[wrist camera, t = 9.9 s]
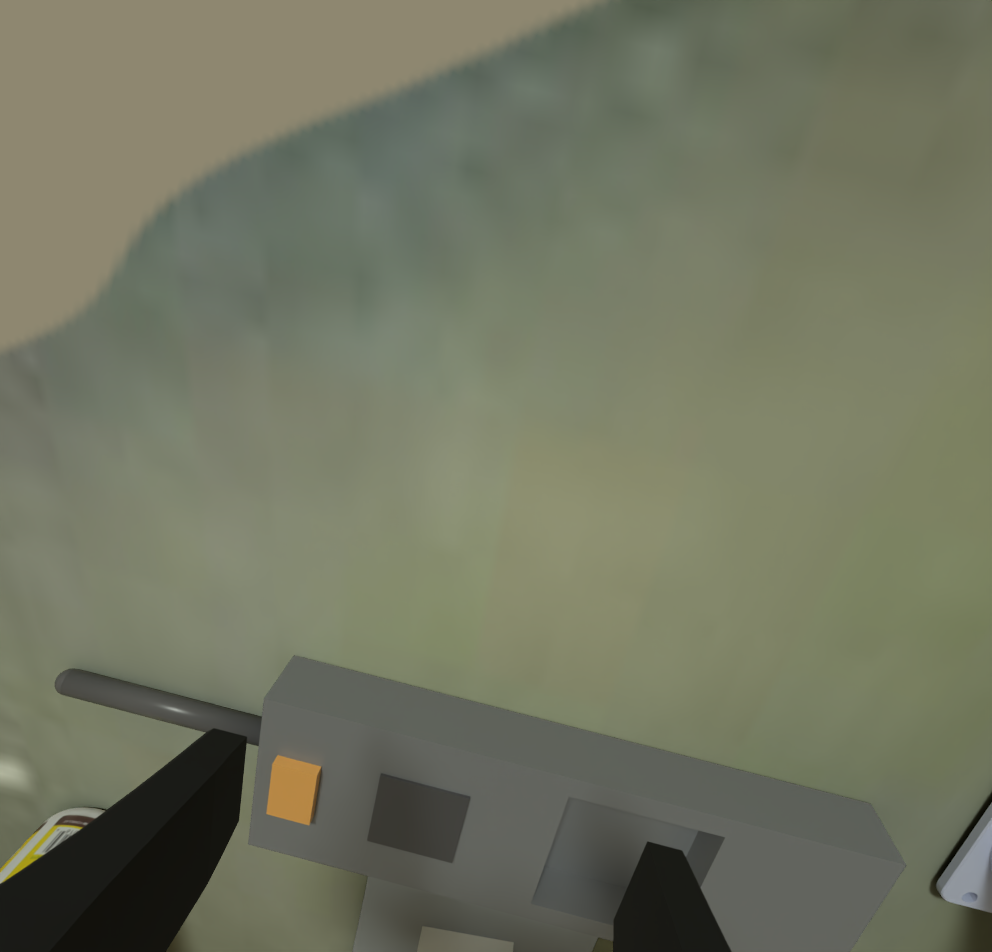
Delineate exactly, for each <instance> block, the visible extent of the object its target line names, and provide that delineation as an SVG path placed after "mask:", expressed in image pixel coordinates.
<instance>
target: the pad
mask: <svg viewBox="0 0 992 952" xmlns="http://www.w3.org/2000/svg"><path fill="white" fill-rule="evenodd" d="M422 926H425V927H431V928H437V929H442V930H448V931H453V932H459V933H464V934H470V935H476V936H481V937H487V938H492V939H498V940H503V941H509V942H514V944H513V952H592V951H593V948H594V946H595V944H596V941H597V939H598V937H595V936H591V935H587V934H584V933H580V932H576V931H572V930H569V929H565V928H561V927H557V926H554V925H550V924H546V923H542V922H538V921H535V920H531V919H527V918H523V917H520V916H516V915H512V914H508V913H505V912H501V911H497V910H493V909H490V908H486V907H482V906H478V905H475V904H471V903H467V902H463V901H460V900H456V899H452V898H448V897H444V896H441V895H437V894H433V893H429V892H426V891H422V890H418V889H414V888H411V887H407V886H403V885H399V884H396V883H392V882H388V881H384V880H381V879H377V878H373V877H369V876H368V880H367V885H366V889H365V894H364V899H363V904H362V908H361V913H360V918H359V923H358V927H357V932H356V937H355V942H354V946H353V951H352V952H417V949H418V944H419V940H420V935H421V930H422Z"/></svg>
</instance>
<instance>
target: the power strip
mask: <svg viewBox="0 0 992 952" xmlns="http://www.w3.org/2000/svg"><path fill="white" fill-rule="evenodd" d="M55 689H56V690H57V692H58V693H60V694H62V695H65V696H69V697H73V698H77V699H80V700H84V701H88V702H92V703H96V704H99V705H103V706H107V707H111V708H115V709H119V710H122V711H126V712H130V713H134V714H138V715H141V716H145V717H149V718H153V719H157V720H161V721H164V722H168V723H172V724H176V725H180V726H184V727H187V728H191V729H195V730H199V731H203V732H208V731H209V730H211V729H213V728H216V729H220V730H223V731H227V732H231V733H235V734H239V735H243V736H246V737H247V743H249V744H252V745H256V746H259V749H258V758H257V767H256V777H255V786H254V795H253V804H252V814H251V823H250V832H249V841H248V844H249V845H253V846H257V847H260V848H264V849H268V850H272V851H275V852H279V853H283V854H287V855H290V856H294V857H298V858H302V859H305V860H309V861H313V862H317V863H320V864H324V865H328V866H332V867H335V868H339V869H343V870H347V871H350V872H354V873H358V874H362V875H366V876H369V877H373V878H377V879H381V880H384V881H388V882H392V883H396V884H399V885H403V886H407V887H411V888H414V889H418V890H422V891H426V892H429V893H433V894H437V895H441V896H444V897H448V898H452V899H456V900H460V901H463V902H467V903H471V904H475V905H478V906H482V907H486V908H490V909H493V910H497V911H501V912H505V913H508V914H512V915H516V916H520V917H523V918H527V919H531V920H535V921H538V922H542V923H546V924H550V925H554V926H557V927H561V928H565V929H569V930H572V931H576V932H580V933H584V934H587V935H591V936H595V937H599V938H602V939H606V940H610V941H613V920H614V918H615V915H616V913H617V911H618V908H619V906H620V904H621V901H622V899H623V897H624V894H625V892H626V890H627V887H628V885H629V883H630V880H631V878H632V876H633V873H634V871H635V869H636V866H637V864H638V862H639V860H640V857H641V855H642V853H643V850H644V848H645V846H646V843H647V841H648V842H652V843H656V844H660V845H663V846H667V847H671V848H675V849H679V850H682V851H683V853H684V855H685V856H686V858H687V860H688V862H689V865H690V867H691V869H692V871H693V873H694V875H695V877H696V879H697V881H698V884H699V886H700V888H701V890H702V892H703V894H704V896H705V898H706V900H707V902H708V905H709V907H710V909H711V911H712V913H713V915H714V917H715V919H716V921H717V923H718V925H719V927H720V929H721V931H722V933H723V935H724V937H725V939H726V941H727V943H728V945H729V947H730V949H731V951H732V952H850V951H851V949H852V948H853V946H854V945H855V943H856V942H857V940H858V939H859V937H860V936H861V934H862V933H863V931H864V930H865V928H866V926H867V925H868V923H869V922H870V920H871V919H872V917H873V916H874V914H875V913H876V911H877V910H878V908H879V907H880V905H881V903H882V902H883V900H884V899H885V897H886V896H887V894H888V893H889V891H890V890H891V888H892V887H893V885H894V884H895V882H896V880H897V879H898V877H899V876H900V874H901V873H902V871H903V870H904V868H905V867H906V864H905V862H904V860H903V858H902V857H901V855H900V853H899V851H898V850H897V848H896V846H895V844H894V843H893V841H892V839H891V838H890V836H889V834H888V832H887V831H886V829H885V827H884V825H883V824H882V822H881V820H880V818H879V817H878V815H877V813H876V812H875V810H874V808H873V806H872V805H871V804H870V803H866V802H862V801H858V800H854V799H850V798H846V797H843V796H839V795H835V794H831V793H827V792H823V791H819V790H815V789H811V788H808V787H804V786H800V785H796V784H792V783H788V782H784V781H780V780H776V779H773V778H769V777H765V776H761V775H757V774H753V773H749V772H745V771H741V770H738V769H734V768H730V767H726V766H722V765H718V764H714V763H710V762H707V761H703V760H699V759H695V758H691V757H687V756H683V755H679V754H675V753H672V752H668V751H664V750H660V749H656V748H652V747H648V746H644V745H640V744H637V743H633V742H629V741H625V740H621V739H617V738H613V737H609V736H605V735H602V734H598V733H594V732H590V731H586V730H582V729H578V728H574V727H570V726H567V725H563V724H559V723H555V722H551V721H547V720H543V719H539V718H536V717H532V716H528V715H524V714H520V713H516V712H512V711H508V710H504V709H501V708H497V707H493V706H489V705H485V704H481V703H477V702H473V701H469V700H466V699H462V698H458V697H454V696H450V695H446V694H442V693H438V692H434V691H431V690H427V689H423V688H419V687H415V686H411V685H407V684H403V683H399V682H396V681H392V680H388V679H384V678H380V677H376V676H372V675H368V674H365V673H361V672H357V671H353V670H349V669H345V668H341V667H337V666H333V665H330V664H326V663H322V662H318V661H314V660H310V659H306V658H302V657H298V656H295V655H294V656H293V657H292V659H291V660H290V662H289V663H288V665H287V666H286V667H285V669H284V670H283V672H282V673H281V675H280V676H279V678H278V679H277V680H276V682H275V683H274V685H273V686H272V688H271V689H270V690H269V692H268V693H267V695H266V696H265V698H264V703H263V712H262V717H260V716H256V715H252V714H248V713H244V712H240V711H237V710H233V709H229V708H225V707H221V706H217V705H213V704H210V703H206V702H202V701H198V700H194V699H190V698H187V697H183V696H179V695H175V694H171V693H167V692H164V691H160V690H156V689H152V688H148V687H144V686H141V685H137V684H133V683H129V682H125V681H121V680H117V679H114V678H110V677H106V676H102V675H98V674H94V673H91V672H87V671H83V670H79V669H68V670H65V671H63V672H62V673H60V674H59V675H58V677H57V678H56V680H55Z"/></svg>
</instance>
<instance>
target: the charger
mask: <svg viewBox="0 0 992 952" xmlns="http://www.w3.org/2000/svg"><path fill="white" fill-rule="evenodd" d="M513 944H514V942H509V941H503V940H498V939H492V938H487V937H481V936H476V935H470V934H464V933H459V932H453V931H448V930H442V929H437V928H431V927H425V926H422V930H421V935H420V940H419V944H418V949H417V952H513Z"/></svg>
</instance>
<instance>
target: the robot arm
mask: <svg viewBox="0 0 992 952" xmlns="http://www.w3.org/2000/svg"><path fill="white" fill-rule="evenodd" d="M246 743H247V737H246V736H243V735H239V734H235V733H231V732H227V731H223V730H220V729H216V728H213V729H211V730H209V731H208V732H206V733H205V734H204V735H203V736H201V737H200V738H199V739H198V740H196V741H195V742H194V743H193V744H191V745H190V746H189V747H188V748H187V749H185V750H184V751H183V752H182V753H180V754H179V755H178V756H177V757H175V758H174V759H173V760H172V761H170V762H169V763H168V764H167V765H165V766H164V767H163V768H161V769H160V770H159V771H158V772H156V773H155V774H154V775H152V776H151V777H150V778H149V779H147V780H146V781H145V782H143V783H142V784H141V785H140V786H138V787H137V788H136V789H134V790H133V791H132V792H130V793H129V794H128V795H126V796H125V797H124V798H122V799H121V800H120V801H118V802H117V803H116V804H114V805H113V806H112V807H110V808H109V809H107V810H106V811H105V812H103V813H102V814H101V815H99V816H98V817H97V818H95V819H94V820H93V821H91V822H90V823H89V824H87V825H86V826H84V827H83V828H82V829H80V830H79V831H77V832H76V833H75V834H73V835H72V836H70V837H69V838H67V839H66V840H64V841H63V842H61V843H60V844H59V845H57V846H56V847H54V848H53V849H51V850H50V851H48V852H47V853H45V854H44V855H43V856H41V857H40V858H38V859H37V860H35V861H34V862H32V863H31V864H29V865H28V866H27V867H25V868H24V869H22V870H21V871H19V872H18V873H16V874H15V875H13V876H12V877H10V878H9V879H7V880H5V881H4V882H2V883H1V884H0V952H166V950H167V949H168V947H169V945H170V944H171V942H172V941H173V939H174V937H175V936H176V934H177V933H178V931H179V929H180V928H181V926H182V925H183V923H184V921H185V920H186V918H187V916H188V915H189V913H190V912H191V910H192V908H193V907H194V905H195V903H196V902H197V900H198V899H199V897H200V895H201V894H202V892H203V890H204V889H205V887H206V885H207V884H208V882H209V880H210V878H211V876H212V874H213V872H214V870H215V868H216V866H217V864H218V862H219V860H220V858H221V856H222V854H223V852H224V850H225V848H226V846H227V844H228V842H229V840H230V838H231V836H232V834H233V832H234V830H235V828H236V826H237V823H238V821H239V814H240V804H241V794H242V784H243V774H244V763H245V753H246ZM936 887H937V890H938V892H939V893H940V895H941V897H942V898H943V899H944V900H946V901H948V902H952V903H955V904H959V905H963V906H967V907H971V908H975V909H978V910H982V911H986V912H990V913H992V803H991V804H990V806H989V807H988V808H987V810H986V811H985V813H984V814H983V816H982V817H981V819H980V820H979V822H978V823H977V824H976V826H975V827H974V829H973V830H972V832H971V833H970V835H969V836H968V838H967V839H966V841H965V842H964V843H963V845H962V846H961V848H960V849H959V851H958V852H957V854H956V855H955V857H954V858H953V859H952V861H951V862H950V864H949V865H948V867H947V868H946V870H945V871H944V873H943V874H942V875H941V877H940V878H939V880H938V881H937V884H936ZM613 952H732V951H731V949H730V947H729V945H728V943H727V941H726V939H725V937H724V935H723V933H722V931H721V929H720V927H719V925H718V923H717V921H716V919H715V917H714V915H713V913H712V911H711V909H710V907H709V905H708V902H707V900H706V898H705V896H704V894H703V892H702V890H701V888H700V886H699V884H698V881H697V879H696V877H695V875H694V873H693V871H692V869H691V867H690V865H689V862H688V860H687V858H686V856H685V855H684V853H683V851H682V850H679V849H675V848H671V847H667V846H663V845H660V844H656V843H652V842H648V841H647V843H646V846H645V848H644V850H643V853H642V855H641V857H640V860H639V862H638V864H637V866H636V869H635V871H634V873H633V876H632V878H631V880H630V883H629V885H628V887H627V890H626V892H625V894H624V897H623V899H622V901H621V904H620V906H619V908H618V911H617V913H616V915H615V918H614V920H613Z"/></svg>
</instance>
